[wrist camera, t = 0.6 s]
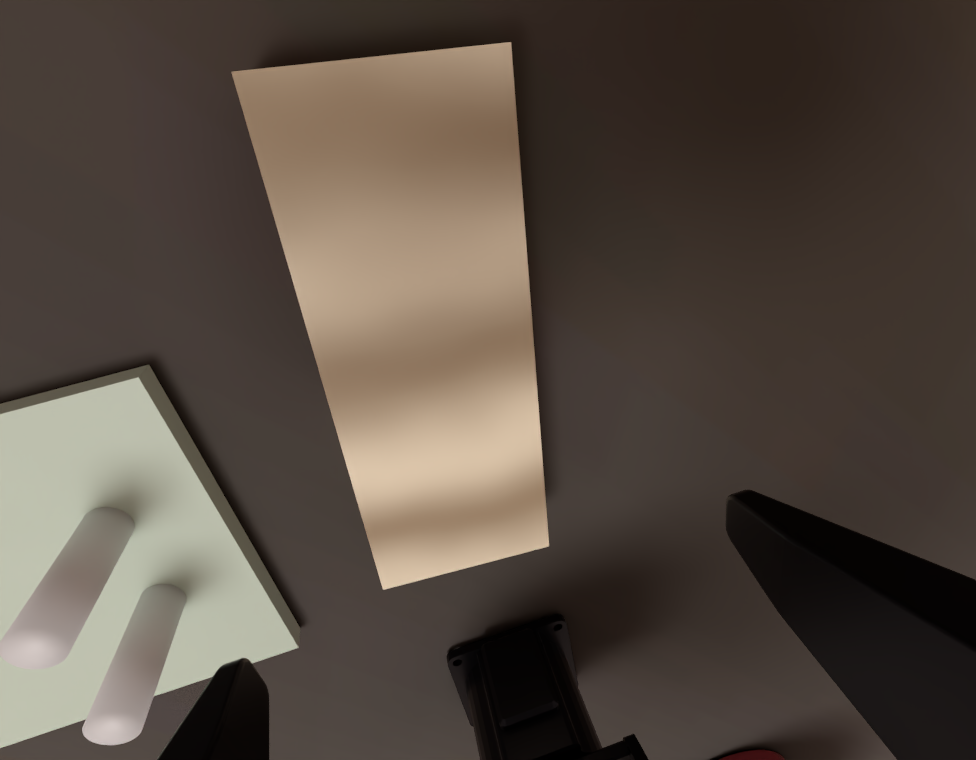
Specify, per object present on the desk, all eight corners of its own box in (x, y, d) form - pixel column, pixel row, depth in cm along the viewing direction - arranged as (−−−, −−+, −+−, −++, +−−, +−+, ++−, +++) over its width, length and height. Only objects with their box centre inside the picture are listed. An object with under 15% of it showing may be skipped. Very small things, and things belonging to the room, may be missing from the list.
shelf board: (528, 500, 25) (549, 546, 22) (379, 537, 24) (383, 589, 21) (485, 55, 16) (510, 41, 14) (252, 80, 15) (231, 72, 13)
